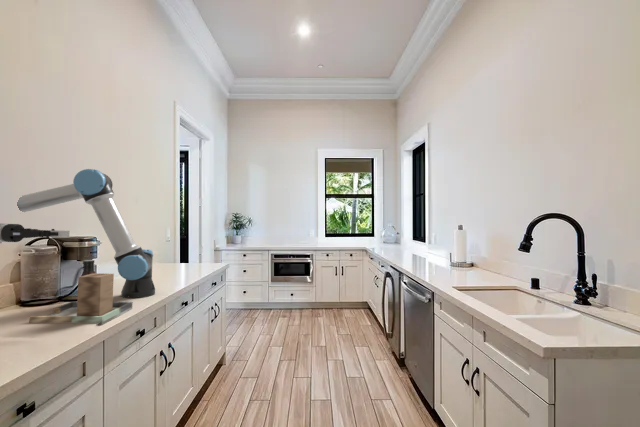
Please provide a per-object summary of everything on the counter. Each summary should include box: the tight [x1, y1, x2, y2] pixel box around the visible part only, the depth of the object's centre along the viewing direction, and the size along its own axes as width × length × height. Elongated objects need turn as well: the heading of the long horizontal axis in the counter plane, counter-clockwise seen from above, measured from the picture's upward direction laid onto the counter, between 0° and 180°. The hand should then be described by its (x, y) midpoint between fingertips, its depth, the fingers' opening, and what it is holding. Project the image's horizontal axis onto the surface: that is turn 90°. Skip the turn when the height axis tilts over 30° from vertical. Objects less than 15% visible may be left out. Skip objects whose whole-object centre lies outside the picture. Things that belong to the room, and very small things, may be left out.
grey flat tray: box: [29, 301, 133, 326], centre depth 124 cm, size 25×21×3 cm
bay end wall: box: [102, 309, 119, 321], centre depth 120 cm, size 1×10×3 cm, turn 3°
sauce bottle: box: [80, 259, 97, 277], centre depth 141 cm, size 7×6×20 cm
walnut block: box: [76, 272, 115, 316], centre depth 120 cm, size 8×8×16 cm
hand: (68, 234), depth 131 cm, fingers closed
